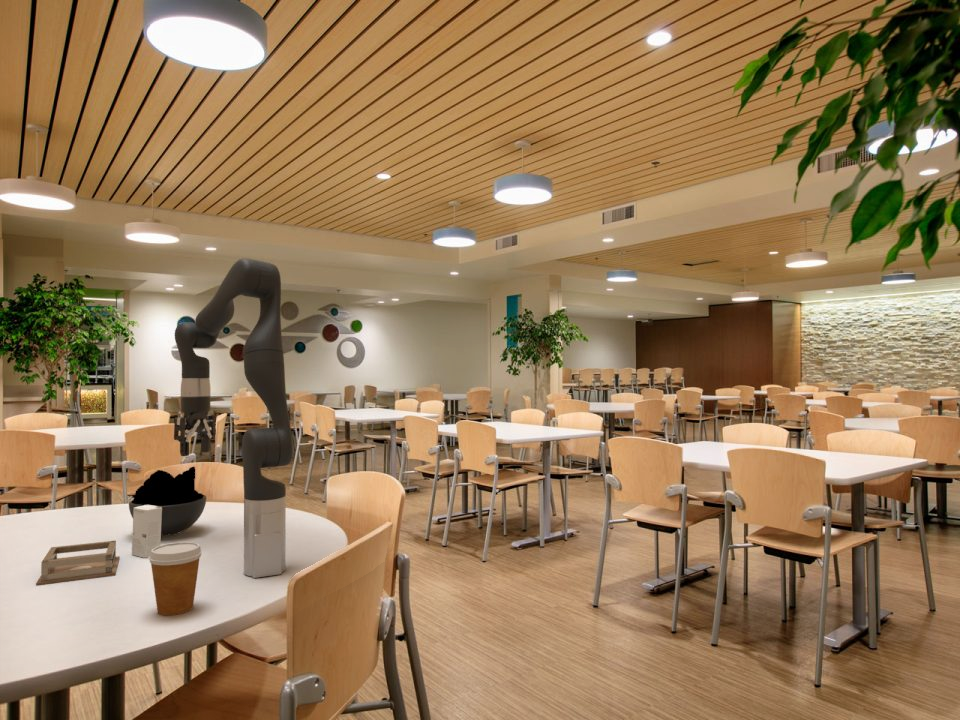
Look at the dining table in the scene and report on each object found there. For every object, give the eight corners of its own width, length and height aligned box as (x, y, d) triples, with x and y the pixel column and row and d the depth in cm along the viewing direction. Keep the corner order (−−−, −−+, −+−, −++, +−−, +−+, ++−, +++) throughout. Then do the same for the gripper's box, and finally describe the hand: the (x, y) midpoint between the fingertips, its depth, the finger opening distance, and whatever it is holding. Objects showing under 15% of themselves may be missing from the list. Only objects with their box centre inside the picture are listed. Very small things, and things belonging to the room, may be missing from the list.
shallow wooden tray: (111, 572, 145) (111, 554, 145) (41, 581, 139) (41, 562, 139) (115, 557, 157) (115, 540, 157) (51, 564, 151) (51, 547, 151)
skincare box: (130, 555, 161) (131, 507, 161) (147, 550, 165) (147, 504, 165) (145, 558, 158) (145, 509, 158) (162, 554, 162) (162, 506, 162)
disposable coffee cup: (209, 600, 128) (209, 541, 129) (189, 618, 119) (190, 554, 119) (162, 601, 128) (162, 541, 128) (138, 619, 119) (138, 555, 119)
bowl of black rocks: (121, 546, 169) (121, 475, 169) (136, 529, 188) (136, 465, 188) (202, 540, 175) (202, 471, 175) (209, 523, 194) (209, 462, 194)
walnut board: (115, 575, 145) (115, 573, 145) (36, 585, 138) (36, 583, 138) (119, 558, 158) (119, 556, 158) (47, 566, 151) (47, 564, 151)
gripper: (190, 395, 166) (190, 457, 166) (223, 394, 180) (223, 451, 180) (165, 395, 168) (165, 457, 168) (200, 394, 182) (200, 450, 181)
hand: (195, 454), depth 174 cm, fingers open, 8 cm apart
